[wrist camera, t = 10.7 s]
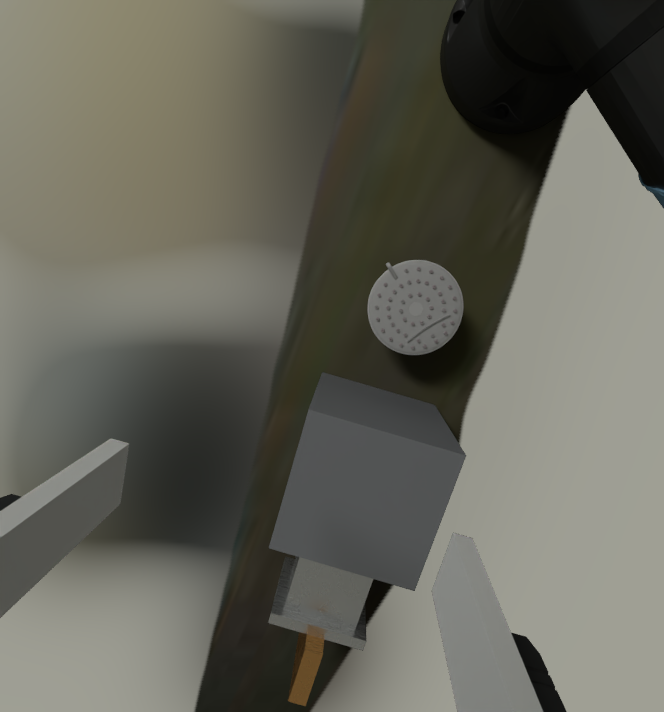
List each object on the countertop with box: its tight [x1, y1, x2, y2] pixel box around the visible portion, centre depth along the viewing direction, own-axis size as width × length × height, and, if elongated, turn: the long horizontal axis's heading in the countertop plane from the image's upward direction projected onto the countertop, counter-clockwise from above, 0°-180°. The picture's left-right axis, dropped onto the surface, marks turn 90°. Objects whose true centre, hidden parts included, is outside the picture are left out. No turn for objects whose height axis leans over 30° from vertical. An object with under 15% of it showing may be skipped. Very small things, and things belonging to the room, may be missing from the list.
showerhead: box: [368, 260, 463, 355], centre depth 42 cm, size 9×7×10 cm
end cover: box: [268, 556, 373, 706], centre depth 43 cm, size 19×10×10 cm, turn 164°
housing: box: [269, 372, 466, 591], centre depth 43 cm, size 14×14×14 cm
